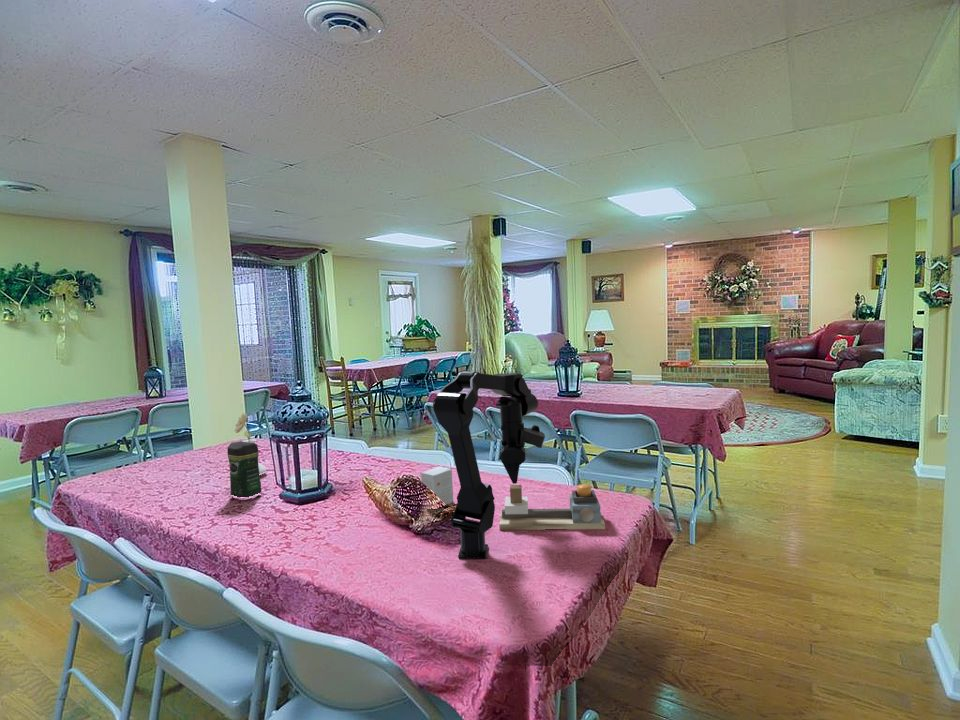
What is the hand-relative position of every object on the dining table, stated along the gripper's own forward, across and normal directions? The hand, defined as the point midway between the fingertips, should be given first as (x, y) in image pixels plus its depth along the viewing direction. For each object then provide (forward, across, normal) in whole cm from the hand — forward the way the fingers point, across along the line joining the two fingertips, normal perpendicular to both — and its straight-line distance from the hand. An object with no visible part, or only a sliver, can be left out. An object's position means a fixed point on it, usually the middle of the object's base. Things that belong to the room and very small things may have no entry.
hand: (514, 477), depth 134 cm
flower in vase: (+12, +46, +100) cm, 111 cm away
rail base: (+12, -1, -9) cm, 15 cm away
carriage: (+9, 0, 0) cm, 9 cm away
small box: (+13, +14, +24) cm, 30 cm away
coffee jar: (+12, +24, +90) cm, 94 cm away
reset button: (+5, -1, -18) cm, 19 cm away
